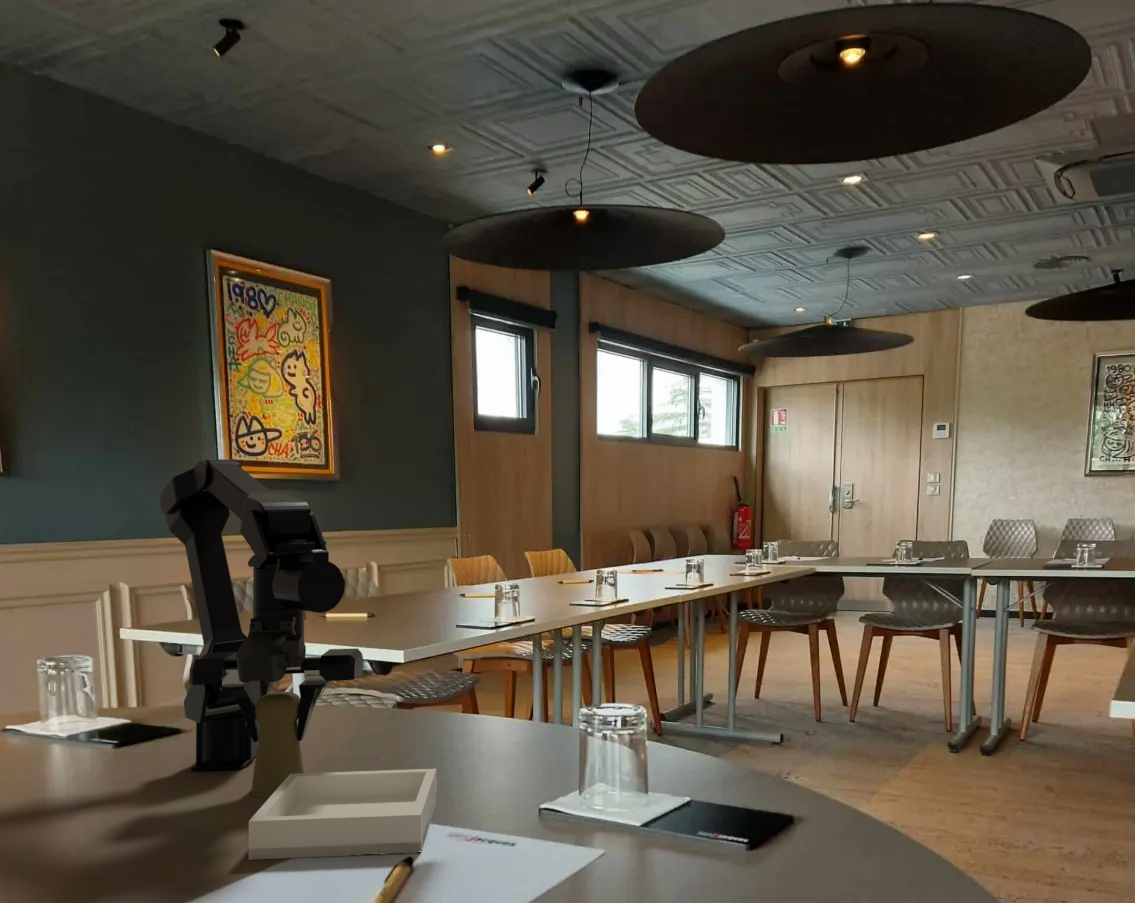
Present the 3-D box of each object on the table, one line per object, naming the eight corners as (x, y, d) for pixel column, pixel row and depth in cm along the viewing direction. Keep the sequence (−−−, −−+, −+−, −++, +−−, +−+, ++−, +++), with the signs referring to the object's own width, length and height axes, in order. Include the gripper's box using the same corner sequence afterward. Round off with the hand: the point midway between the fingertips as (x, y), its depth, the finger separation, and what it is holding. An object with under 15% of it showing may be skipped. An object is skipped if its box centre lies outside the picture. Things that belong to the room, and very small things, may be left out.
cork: (288, 799, 95) (288, 700, 96) (240, 796, 96) (240, 698, 97) (315, 781, 101) (315, 688, 101) (269, 779, 102) (269, 687, 103)
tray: (248, 859, 79) (248, 821, 79) (290, 806, 93) (290, 773, 93) (421, 852, 79) (420, 814, 80) (436, 800, 93) (436, 768, 94)
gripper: (169, 617, 91) (168, 764, 90) (344, 613, 92) (344, 758, 91) (208, 605, 102) (207, 736, 101) (363, 601, 103) (364, 731, 102)
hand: (278, 740), depth 99 cm, fingers closed on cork, 5 cm apart
